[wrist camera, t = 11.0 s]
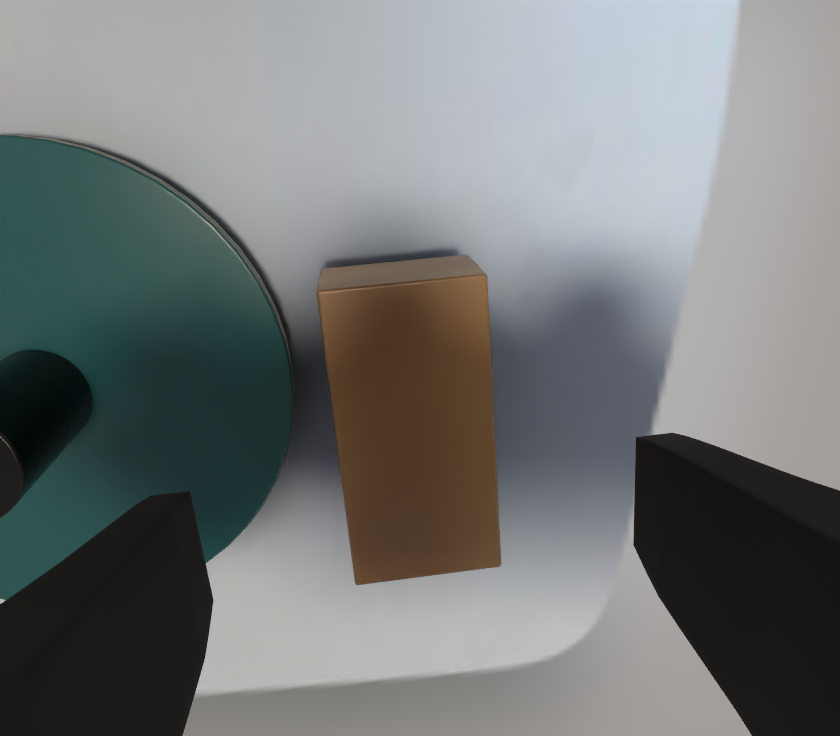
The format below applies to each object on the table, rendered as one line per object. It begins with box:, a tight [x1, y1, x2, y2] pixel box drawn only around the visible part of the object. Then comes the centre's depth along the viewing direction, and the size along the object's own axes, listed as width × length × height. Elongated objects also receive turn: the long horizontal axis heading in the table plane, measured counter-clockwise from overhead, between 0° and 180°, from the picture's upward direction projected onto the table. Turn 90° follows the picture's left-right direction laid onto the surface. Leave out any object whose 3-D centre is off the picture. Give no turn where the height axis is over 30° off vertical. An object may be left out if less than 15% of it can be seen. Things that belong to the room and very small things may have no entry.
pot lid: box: [0, 135, 295, 600], centre depth 14 cm, size 11×11×5 cm
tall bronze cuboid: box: [317, 255, 501, 585], centre depth 16 cm, size 3×6×4 cm, turn 5°
